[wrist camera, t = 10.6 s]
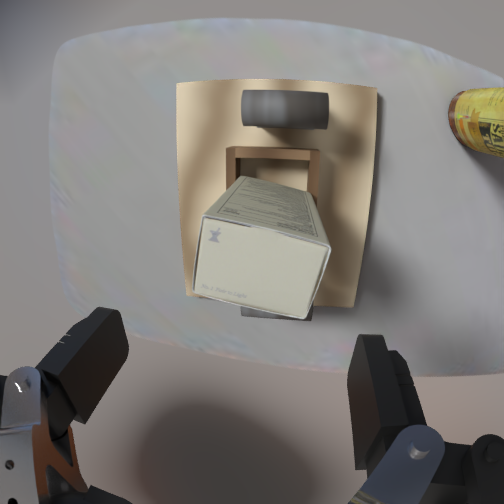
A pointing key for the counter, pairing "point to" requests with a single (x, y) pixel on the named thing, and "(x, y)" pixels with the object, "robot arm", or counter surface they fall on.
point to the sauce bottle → (479, 119)
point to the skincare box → (262, 248)
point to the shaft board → (281, 162)
